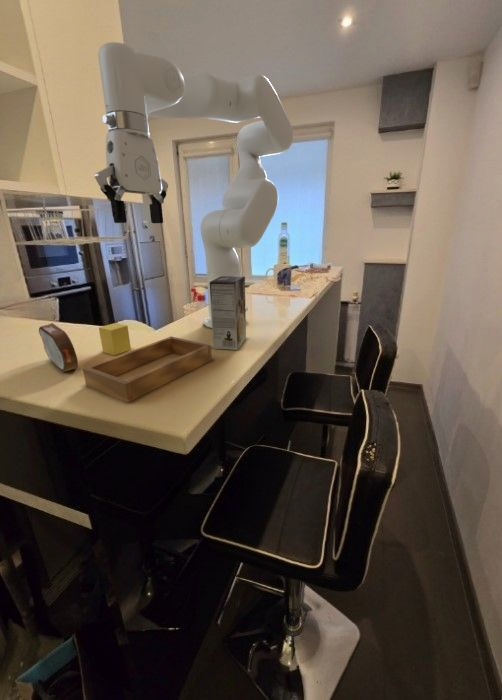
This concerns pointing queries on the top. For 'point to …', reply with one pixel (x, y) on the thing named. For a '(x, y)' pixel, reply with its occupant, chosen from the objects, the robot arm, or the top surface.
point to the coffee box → (228, 312)
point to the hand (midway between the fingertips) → (139, 223)
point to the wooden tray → (105, 371)
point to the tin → (58, 347)
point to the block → (115, 338)
